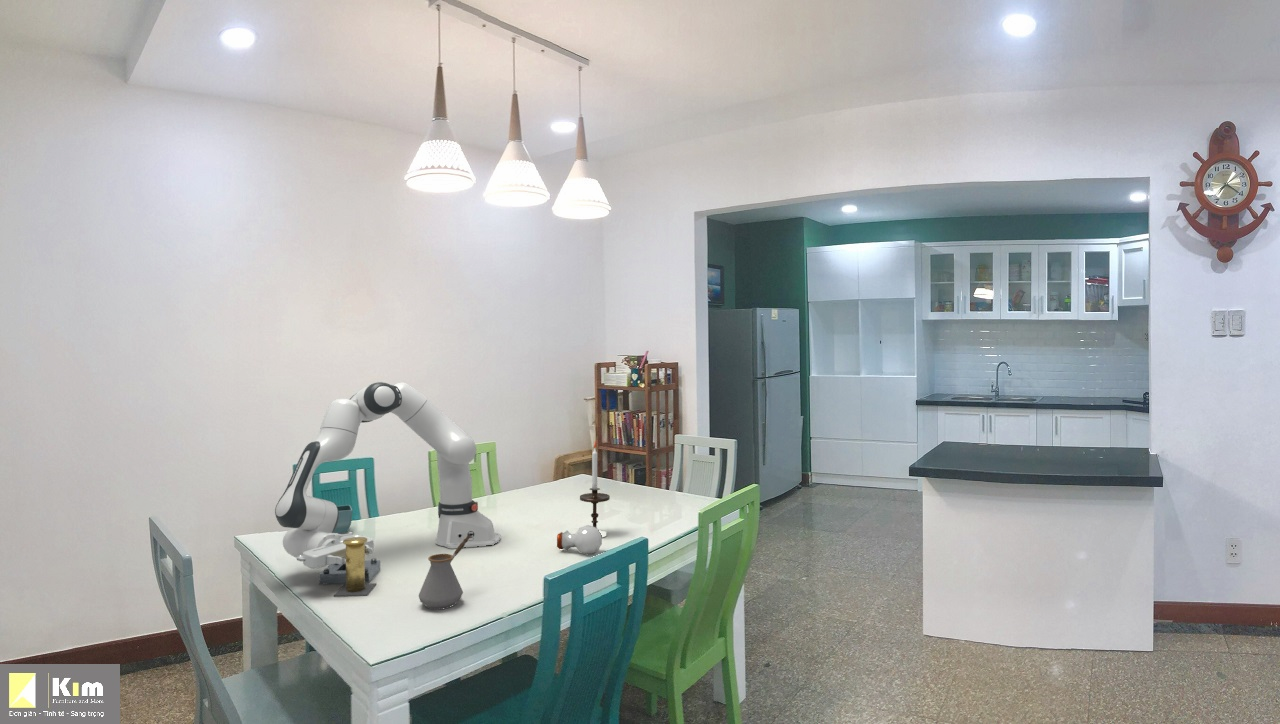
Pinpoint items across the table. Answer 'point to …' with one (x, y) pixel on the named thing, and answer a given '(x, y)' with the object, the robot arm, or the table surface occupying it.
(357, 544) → the brass flanged cylinder
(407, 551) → the table surface
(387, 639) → the table surface
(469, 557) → the table surface
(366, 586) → the pad
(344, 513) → the flower pot
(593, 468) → the candlestick
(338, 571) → the housing
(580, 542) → the potion bottle
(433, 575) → the coffee pot
